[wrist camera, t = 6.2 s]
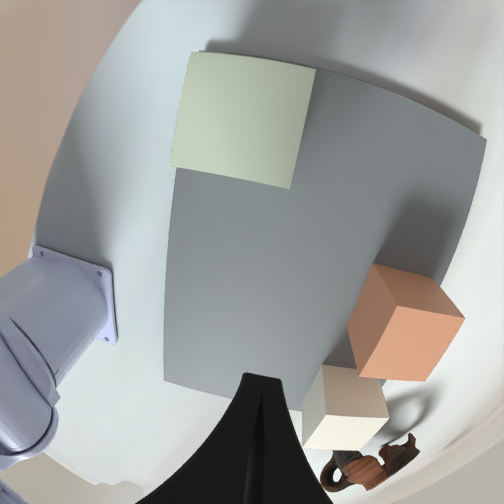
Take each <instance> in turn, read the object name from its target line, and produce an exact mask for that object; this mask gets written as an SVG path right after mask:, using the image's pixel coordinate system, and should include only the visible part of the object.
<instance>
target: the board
mask: <svg viewBox="0 0 504 504" xmlns="http://www.w3.org/2000/svg"><path fill="white" fill-rule="evenodd" d="M199 52H204V53H218V54H229V55H238V56H246V57H254V58H260V59H267V60H273V61H278V62H284V63H289V64H294V65H298V66H303V67H307V68H311V69H316V72H315V77H314V82H313V86H312V91H311V96H310V101H309V105H308V110H307V115H306V119H305V124H304V128H303V133H302V137H301V142H300V146H299V151H298V155H297V160H296V164H295V168H294V173H293V177H292V181H291V186H290V190H289V189H285V188H281V187H276V186H272V185H267V184H263V183H258V182H254V181H249V180H244V179H239V178H234V177H229V176H224V175H218V174H213V173H208V172H202V171H196V170H191V169H185V168H178V167H177V169H176V176H175V184H174V192H173V200H172V209H171V219H170V229H169V240H168V252H167V266H166V283H165V305H164V381H167V382H171V383H174V384H177V385H180V386H184V387H187V388H191V389H194V390H198V391H202V392H206V393H210V394H213V395H218V396H222V397H226V398H230V399H233V398H234V396H235V394H236V392H237V390H238V387H239V385H240V382H241V378H242V374H243V373H245V372H248V373H253V374H258V375H263V376H268V377H273V378H279V379H280V380H281V381H282V385H283V390H284V395H285V399H286V403H287V407H288V409H289V410H296V411H302V401H303V399H304V397H305V395H306V394H307V392H308V390H309V388H310V386H311V384H312V382H313V380H314V378H315V376H316V374H317V372H318V370H319V368H320V366H321V364H323V365H330V366H337V367H344V368H352V369H357V367H356V363H355V359H354V355H353V350H352V346H351V342H350V338H349V334H348V330H347V327H346V326H347V323H348V321H349V319H350V317H351V314H352V312H353V310H354V308H355V305H356V303H357V300H358V298H359V296H360V293H361V291H362V288H363V286H364V283H365V281H366V278H367V276H368V273H369V271H370V268H371V265H372V263H374V264H378V265H382V266H386V267H390V268H394V269H398V270H402V271H406V272H410V273H414V274H418V275H422V276H426V277H430V278H433V279H434V280H435V282H436V283H437V284H438V285H439V286H440V285H441V283H442V281H443V279H444V277H445V274H446V272H447V270H448V267H449V265H450V263H451V260H452V258H453V255H454V253H455V250H456V248H457V245H458V242H459V240H460V237H461V234H462V232H463V229H464V226H465V223H466V220H467V217H468V214H469V211H470V207H471V204H472V201H473V197H474V194H475V190H476V186H477V183H478V179H479V175H480V170H481V166H482V162H483V157H484V152H485V147H486V142H487V139H485V138H483V137H482V136H480V135H479V134H477V133H475V132H474V131H472V130H470V129H468V128H467V127H465V126H463V125H461V124H460V123H458V122H456V121H454V120H452V119H450V118H448V117H446V116H444V115H442V114H440V113H438V112H436V111H434V110H432V109H430V108H428V107H426V106H424V105H422V104H419V103H417V102H415V101H413V100H410V99H408V98H406V97H403V96H401V95H398V94H396V93H393V92H391V91H388V90H386V89H383V88H380V87H378V86H375V85H372V84H369V83H366V82H363V81H360V80H357V79H354V78H351V77H347V76H344V75H341V74H337V73H334V72H330V71H326V70H322V69H319V68H315V67H310V66H306V65H302V64H297V63H292V62H287V61H282V60H277V59H271V58H265V57H258V56H251V55H244V54H235V53H225V52H214V51H199ZM379 380H380V383H381V387H382V386H383V385H384V383H385V382H386V380H387V379H379Z"/></svg>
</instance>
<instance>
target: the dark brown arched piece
mask: <svg viewBox="0 0 504 504" xmlns="http://www.w3.org/2000/svg"><path fill="white" fill-rule="evenodd" d="M415 442H416V438H415V437H414V436H413V435H412V434H411V433H409V434H408V441H407V442H406V443H405V444H403V445H400V446H399V445H392V446H389V445H387V444H386V445H384V446H383V447H382V448H381V449H380V451H379V456H380V457H382V458H383V460H384V462H385V464H383V465H382V466H381V465H380V463H379V462H378V460H377V458H375V457H373V456H371V455H366V456H363V455H362V454H361V453H360V452H359V451H352V450H333V455H332V458H331V460H330V461H329V462H328V463H327V464H326V465H325V467H324V468H323V470H322V472H321V476H320V482H321V486H322V487H323V488H324V489H325V490H326V491H328V492H338V491H341V490H343V489H345V488H346V487H348V486H350V485H353V484H361V485H363V486H364V487H365V489H366V491H368V490H371V489H373V488H375V487H376V486H378V485H379V484H381V483H382V482H384V481H385V480H386V479H388V478H389V477H390V476H392V475H394V474H395V473H397V472H398V471H399V470H401V469H402V468H403V467H404V466H406V465H407V464H408V463H409V462H410V461H412V460H413V459H414V458H415V457H416V456H417V455H418V454H419V453H420V451H419V450H418V449H417V448H416V447H415ZM337 468H339V469H340V472H341V473H342V476H341V478H340V480H339V481H338V482H334V481H333V474H334V472H335V470H336V469H337Z"/></svg>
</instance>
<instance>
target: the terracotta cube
mask: <svg viewBox="0 0 504 504" xmlns="http://www.w3.org/2000/svg"><path fill="white" fill-rule="evenodd" d="M464 320H465V317H464V316H463V315H462V313H461V312H460V311H459V310H458V308H457V307H456V306H455V305H454V303H453V302H452V301H451V300H450V298H449V297H448V296H447V295H446V294H445V292H444V291H443V290H442V289H441V288H440V286H439V285H438V284H437V283H436V282H435V280H434V279H433V278H430V277H426V276H422V275H418V274H414V273H410V272H406V271H402V270H398V269H394V268H390V267H386V266H382V265H378V264H374V263H372V265H371V268H370V271H369V273H368V276H367V278H366V281H365V283H364V286H363V288H362V291H361V293H360V296H359V298H358V300H357V303H356V305H355V308H354V310H353V312H352V314H351V317H350V319H349V321H348V323H347V326H346V327H347V330H348V334H349V338H350V342H351V346H352V350H353V355H354V359H355V363H356V367H357V372H358V376H359V377H367V378H378V379H390V380H405V381H425V380H426V379H427V378H428V376H429V375H430V373H431V372H432V371H433V369H434V368H435V366H436V365H437V363H438V362H439V360H440V359H441V357H442V356H443V354H444V353H445V351H446V350H447V348H448V347H449V345H450V343H451V342H452V340H453V339H454V337H455V335H456V334H457V332H458V330H459V328H460V327H461V325H462V323H463V321H464Z"/></svg>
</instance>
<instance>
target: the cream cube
mask: <svg viewBox="0 0 504 504" xmlns="http://www.w3.org/2000/svg"><path fill="white" fill-rule="evenodd" d="M389 418H390V417H389V413H388V409H387V406H386V402H385V398H384V394H383V391H382V387H381V383H380V380H379V379H378V378H367V377H359V376H358V372H357V369H352V368H344V367H337V366H330V365H323V364H321V366H320V368H319V370H318V372H317V374H316V376H315V378H314V380H313V382H312V384H311V386H310V388H309V390H308V392H307V394H306V395H305V397H304V399H303V401H302V448H310V449H324V450H352V451H359V450H360V449H361V448H362V447H363V446H364V445H365V444H366V443H367V442H368V441H369V440H370V439H371V438H372V437H373V436H374V435H375V434H376V433H377V432H378V431H379V429H380V428H381V427H382V426H383V425H384V424H385V423H386V422H387V421H388V419H389Z"/></svg>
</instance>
